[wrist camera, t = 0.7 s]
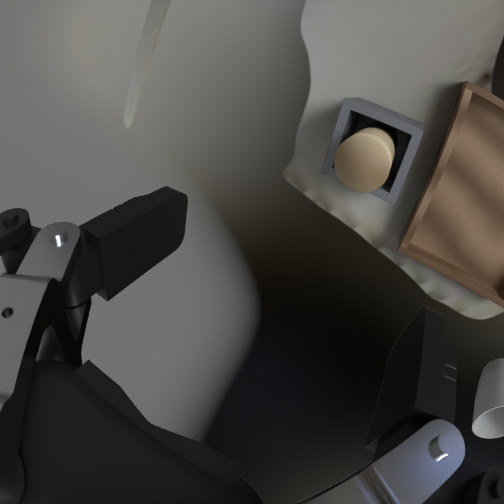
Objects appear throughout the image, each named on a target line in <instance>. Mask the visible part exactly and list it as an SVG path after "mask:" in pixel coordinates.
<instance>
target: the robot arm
mask: <svg viewBox="0 0 504 504" xmlns="http://www.w3.org/2000/svg"><path fill="white" fill-rule="evenodd" d="M187 204H188V199H187V196H186V194H184V193H182V192H179V191H177V190H175V189H172V188H170V187H167V186H166V187H163V188H160V189H158V190H157V191H154V192H152V193H150V194H148V195H143V196H138V197H134V198H132V199H130V200H128V201H126V202H124V203H123V204H122V205H121V204H120V205H118V206H116V207H114V208H113V210H111V209H110V210H109V211H107V212H105V213H103V214H101V215H99V216H97V217H95V218H93V219H91V220H90V221H88V222H86V223H84V224H82V225H80V226H79V227H78V226H77V225H75V224H73V223H70V222H56V223H53V224H50V225H48V226H46V227H44V228H43V229H40V228H37V227H34V226H31V223H30V218H29V213H28V211H26V210H25V209H21V208H15V209H10V210H7V211H4V212H2V213H0V256H1V258H2V261H3V264H4V267H5V270H6V273H3V274H1V275H0V504H264V503H263V501H262V500H261V498H260V497H259V495H258V494H257V493H256V491H255V490H254V489H253V488H252V487H251V486H250V485H249V483H248V482H246V481H245V480H244V479H243V478H242V477H241V476H240V475H241V473H242V472H243V470H244V469H245V467H244V466H242V465H240V464H238V463H236V462H234V461H233V460H231V459H229V458H227V457H225V456H223V455H222V454H220V453H218V452H216V451H214V450H213V449H211V448H210V447H208V446H206V445H204V444H203V443H201V442H199V441H196V440H193V439H189V438H186V437H184V436H181V435H178V434H176V433H173V432H170V431H167V430H165V429H162V428H160V427H157V426H155V425H153V424H151V423H150V422H148V421H147V420H146V418H145V417H144V416H143V415H142V414H141V412H140V411H139V410H138V409H137V407H136V406H135V405H134V404H133V402H132V401H131V400H130V399H129V397H128V396H127V395H126V393H125V392H124V391H123V389H122V388H121V387H120V386H119V385H118V384H117V383H115V382H114V381H113V380H112V379H111V378H109V377H108V376H107V375H106V374H105V373H103V372H102V371H101V370H100V369H99V368H98V367H96V366H95V365H94V364H93V363H92V362H91V361H89V360H88V361H86V362H85V363H84V364H83V365H82V355H81V351H82V344H83V339H84V334H85V330H86V325H87V321H88V317H89V312H90V308H91V304H92V302H91V301H92V300H91V296H92V295H94V294H95V293H97V294H99V295H100V296H101V297H103V298H104V299H105V300H106V301H109V300H110V299H111V298H113V297H114V296H115V295H117V294H118V293H119V292H121V291H122V290H123V289H124V288H126V287H127V286H128V285H130V284H131V283H132V282H134V281H135V280H136V279H138V278H139V277H140V276H141V275H143V274H144V273H146V272H147V271H148V270H150V269H151V268H152V267H154V266H155V265H156V264H158V263H159V262H161V261H162V260H163V259H165V258H166V257H167V256H169V255H170V254H171V253H173V252H174V251H176V249H178V247H179V246H180V245H181V243H182V241H183V238H184V234H185V224H186V214H187ZM456 369H457V352H456V349H455V347H454V344H453V341H452V339H451V338H449V337H447V336H446V319H445V316H444V315H442V314H440V313H438V312H436V311H434V310H432V309H430V308H428V307H426V306H422V307H421V308H420V309H419V310H418V312H417V313H416V315H415V316H414V318H413V319H412V320H411V322H410V323H409V325H408V326H407V327H406V329H405V330H404V332H403V333H402V334H401V335H400V337H399V338H398V339H397V341H396V342H395V344H394V346H393V348H392V350H391V352H390V355H389V358H388V363H387V367H386V371H385V375H384V379H383V383H382V387H381V391H380V395H379V398H378V402H377V405H376V409H375V412H374V416H373V419H372V423H371V425H370V429H369V432H368V435H367V438H366V442H365V444H364V448H365V449H368V450H370V451H373V452H375V454H374V457H373V460H372V462H370V463H369V464H367V465H366V466H364V467H362V468H361V469H359V470H358V471H356V472H355V473H353V474H351V475H349V476H348V477H346V478H344V479H343V480H341V481H339V482H338V483H335V484H334V485H332V486H330V487H328V488H326V489H325V490H323V491H321V492H319V493H317V494H315V495H313V496H311V497H309V498H307V499H305V500H303V501H300V502H298V503H296V504H504V467H503V466H493V467H491V468H490V469H488V470H486V471H484V472H483V471H482V470H480V469H479V468H478V467H477V466H475V465H474V464H473V463H471V462H470V461H469V460H468V459H467V458H466V457H465V456H464V454H465V445H464V441H463V438H462V435H461V434H460V432H459V430H458V429H457V428H456V427H455V426H454V417H455V404H456V386H457V384H456V379H457V371H456Z"/></svg>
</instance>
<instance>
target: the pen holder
mask: <svg viewBox="0 0 504 504" xmlns="http://www.w3.org/2000/svg"><path fill="white" fill-rule="evenodd" d="M374 122H382V123H385V124H387V125H389V126H390V127H391V128H392V129H393V130H394V132H395V133H396V136H397V148H396V151H395V155H394V158H393V162H392V165H391V168H390V172H389V175H388V178H387V180H386V181H385V183H384V184H383V185H382V186H381V187H379V188H378V189H376V190H374V191H370V192H368V193H370V194H372V195H374V196H376V197H378V198H381V199H383V200H385V201H387V202H389V203H391V204H393V205H394V204H395V202H396V200H397V198H398V195H399V193H400V191H401V188H402V186H403V183H404V181H405V179H406V176H407V174H408V171H409V169H410V166H411V164H412V161H413V159H414V156H415V154H416V151H417V148H418V146H419V143H420V141H421V138H422V135H423V132H424V129H423V127H422V125H421V123H419V122H417V121H415V120H413V119H410V118H408V117H406V116H404V115H401V114H399V113H397V112H394V111H392V110H389V109H387V108H384V107H382V106H379V105H377V104H374V103H372V102H369V101H367V100H364V99H361V98H344V100H343V103H342V106H341V110H340V113H339V116H338V120H337V123H336V126H335V130H334V133H333V136H332V139H331V142H330V146H329V149H328V152H327V155H326V158H325V161H324V165H323V168H322V171H321V173H324V174H326V175H328V176H331V177H333V178H336V179H338V180H340V179H339V178H338V176H337V174H336V171H335V168H334V156H335V153H336V150H337V149H338V147H339V146H340V144H341V143H342V142H344V141H345V140H346V139H348V138H349V137H351V136H352V135H354V134H355V133H357V132H358V131H360V130H361V129H363V128H364V127H366V126H367V125H369V124H371V123H374ZM340 181H341V180H340Z"/></svg>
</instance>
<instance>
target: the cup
mask: <svg viewBox="0 0 504 504" xmlns="http://www.w3.org/2000/svg"><path fill="white" fill-rule="evenodd" d="M472 430H473V432H474V434H476V435H477V436H479V437H482V438H497V437H501V436H504V359H496V360H493V361H491V362H490V363H488V364H487V365H486V366H485V367H484V369H483V371H482V374H481V377H480V380H479V384H478V389H477V394H476V400H475V406H474V417H473V425H472Z"/></svg>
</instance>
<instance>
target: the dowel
mask: <svg viewBox="0 0 504 504" xmlns="http://www.w3.org/2000/svg"><path fill="white" fill-rule="evenodd" d="M396 148H397V136H396V133H395V132H394V130H393V129H392V128H391V127H390V126H389V125H387V124H385V123H382V122H374V123H371V124H369V125H367V126H366V127H364V128H363V129H361V130H360V131H358V132H357V133H355V134H354V135H352V136H351V137H349V138H348V139H346V140H345V141H344V142H342V143H341V144H340V146H339V147H338V149H337V150H336V153H335V156H334V168H335V171H336V174H337V176H338V178H339V179H340V180H341V182H342V183H343V184H344V185H346V186H347V187H348V188H350V189H352V190H354V191H358V192H370V191H374V190H376V189H378V188H379V187H381V186H382V185H383V184H384V183H385V181H386V180H387V178H388V175H389V172H390V168H391V165H392V162H393V158H394V155H395V151H396Z"/></svg>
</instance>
